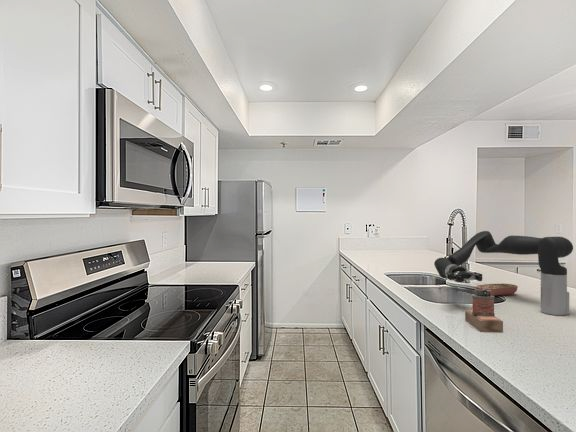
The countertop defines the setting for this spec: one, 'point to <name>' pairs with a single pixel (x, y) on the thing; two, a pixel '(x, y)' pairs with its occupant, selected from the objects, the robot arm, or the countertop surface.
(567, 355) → the countertop surface
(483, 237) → the robot arm
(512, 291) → the mitochondrion cross-section
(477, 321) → the wooden block
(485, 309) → the lighter
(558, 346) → the countertop surface
